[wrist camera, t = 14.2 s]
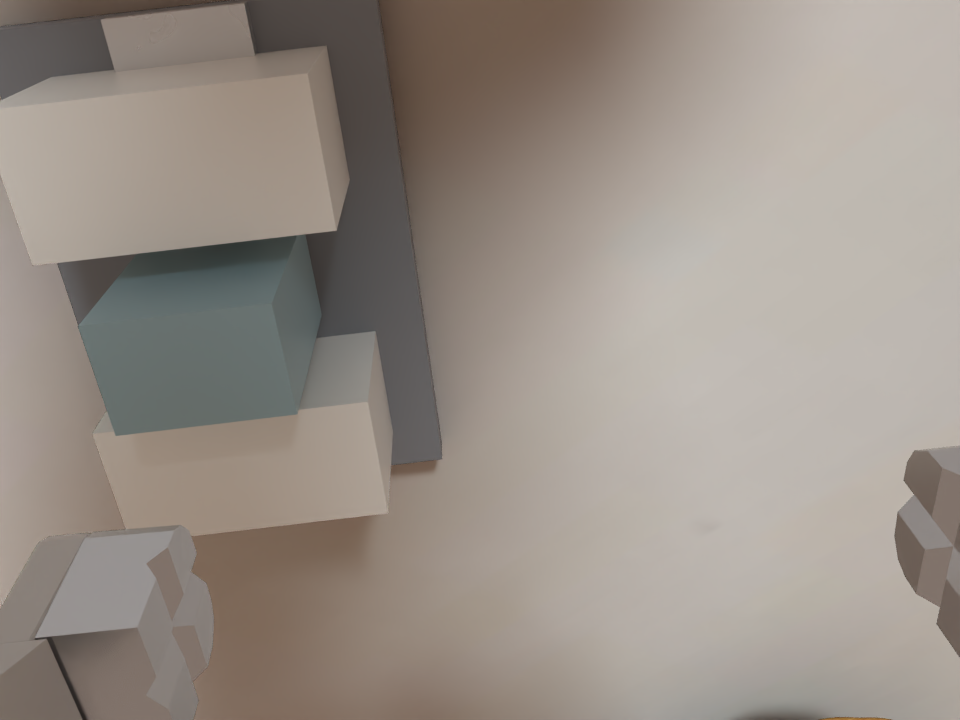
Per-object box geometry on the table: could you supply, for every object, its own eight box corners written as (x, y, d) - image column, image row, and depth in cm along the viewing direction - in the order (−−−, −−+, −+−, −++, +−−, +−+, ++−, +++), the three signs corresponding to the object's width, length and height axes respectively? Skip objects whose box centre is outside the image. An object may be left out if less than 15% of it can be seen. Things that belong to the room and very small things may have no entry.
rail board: (-4, 27, 33) (-113, 58, 26) (376, -17, 33) (364, 4, 26) (145, 476, 42) (92, 584, 35) (441, 441, 42) (445, 543, 35)
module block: (148, 239, 35) (77, 326, 27) (302, 221, 35) (272, 303, 27) (175, 332, 36) (115, 436, 29) (321, 314, 36) (297, 414, 29)
